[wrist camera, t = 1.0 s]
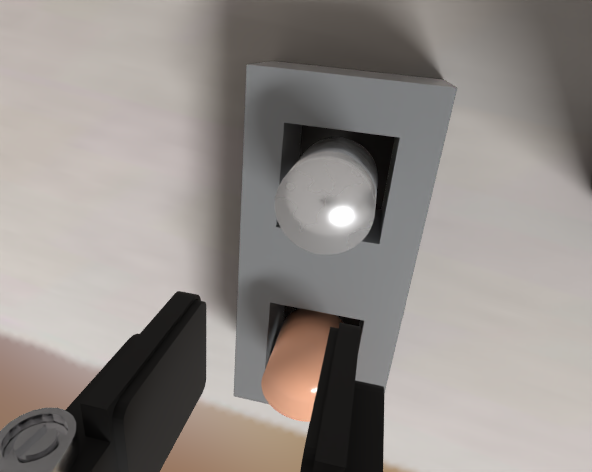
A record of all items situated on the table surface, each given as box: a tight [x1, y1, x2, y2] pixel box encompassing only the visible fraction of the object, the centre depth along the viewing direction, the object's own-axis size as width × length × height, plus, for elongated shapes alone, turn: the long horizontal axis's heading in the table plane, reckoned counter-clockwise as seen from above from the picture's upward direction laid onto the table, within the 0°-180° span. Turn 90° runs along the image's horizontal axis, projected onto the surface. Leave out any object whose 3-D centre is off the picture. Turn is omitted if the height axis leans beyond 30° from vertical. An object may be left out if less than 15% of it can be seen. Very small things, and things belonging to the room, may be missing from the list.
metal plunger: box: [275, 137, 378, 255], centre depth 24 cm, size 5×5×6 cm
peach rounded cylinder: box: [261, 308, 343, 422], centre depth 29 cm, size 5×5×6 cm
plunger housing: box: [234, 61, 457, 404], centre depth 30 cm, size 11×24×6 cm, turn 175°
